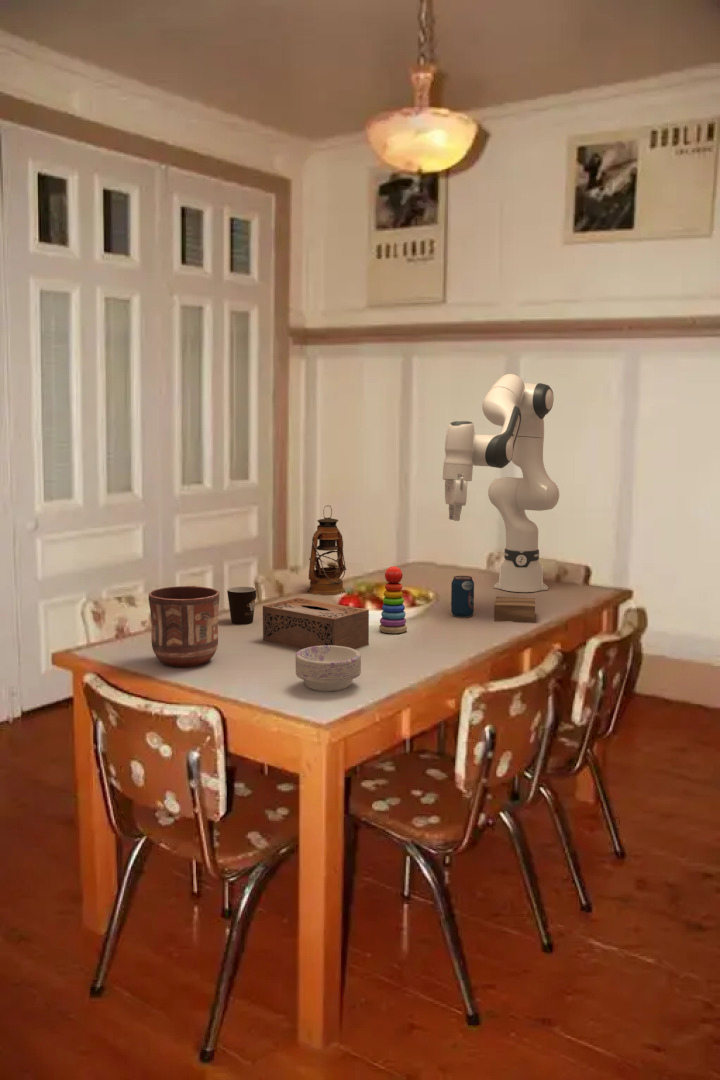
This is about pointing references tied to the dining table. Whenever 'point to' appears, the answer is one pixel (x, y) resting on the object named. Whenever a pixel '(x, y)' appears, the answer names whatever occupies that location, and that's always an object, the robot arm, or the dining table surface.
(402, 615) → the stacking toy
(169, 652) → the pottery
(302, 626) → the tissue box cover
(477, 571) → the dining table surface
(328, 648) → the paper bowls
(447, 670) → the dining table surface
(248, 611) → the coffee mug
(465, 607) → the soda can
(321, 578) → the lantern
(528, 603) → the block
